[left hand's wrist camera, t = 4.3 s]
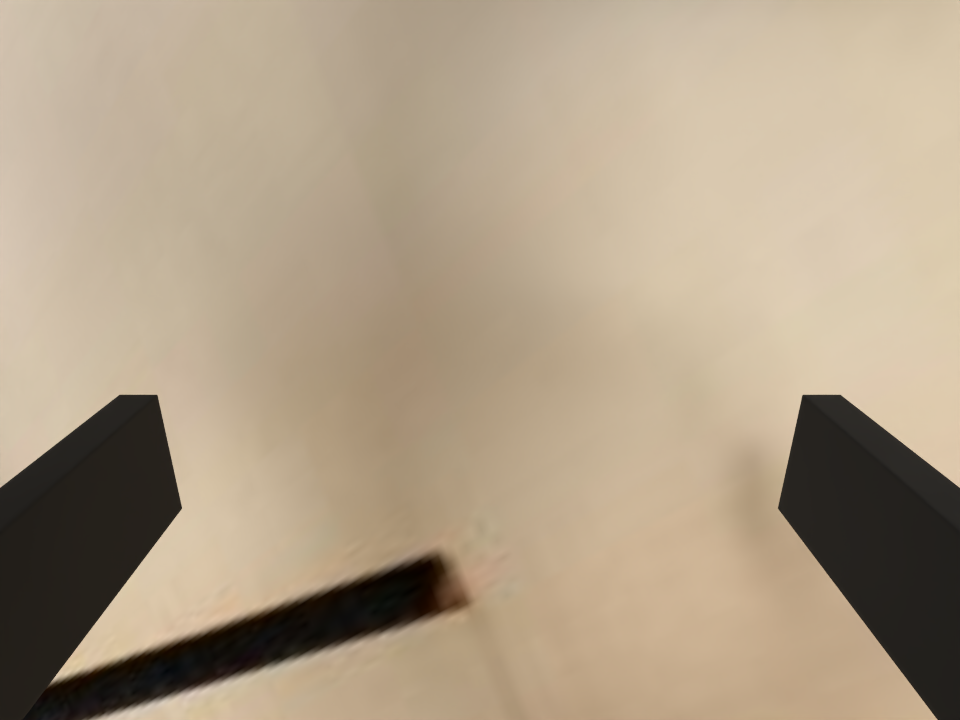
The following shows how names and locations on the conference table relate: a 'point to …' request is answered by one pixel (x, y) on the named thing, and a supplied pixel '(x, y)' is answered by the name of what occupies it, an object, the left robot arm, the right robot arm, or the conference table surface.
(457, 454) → the conference table surface
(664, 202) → the conference table surface
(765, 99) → the conference table surface
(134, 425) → the left robot arm
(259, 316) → the conference table surface
